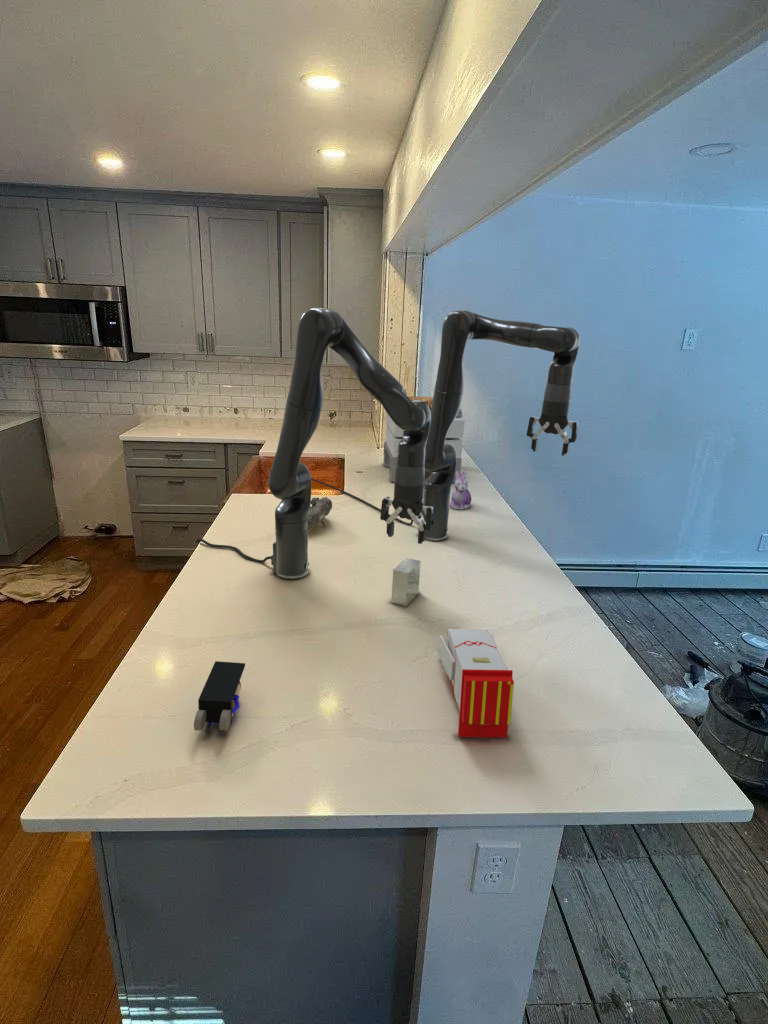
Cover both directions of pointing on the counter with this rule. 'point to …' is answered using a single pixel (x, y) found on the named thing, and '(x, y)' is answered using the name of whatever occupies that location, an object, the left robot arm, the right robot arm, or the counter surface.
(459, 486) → the figurine
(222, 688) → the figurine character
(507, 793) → the counter surface
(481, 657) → the toy
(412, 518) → the left robot arm
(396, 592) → the block
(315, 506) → the fossil
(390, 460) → the grey slatted box
